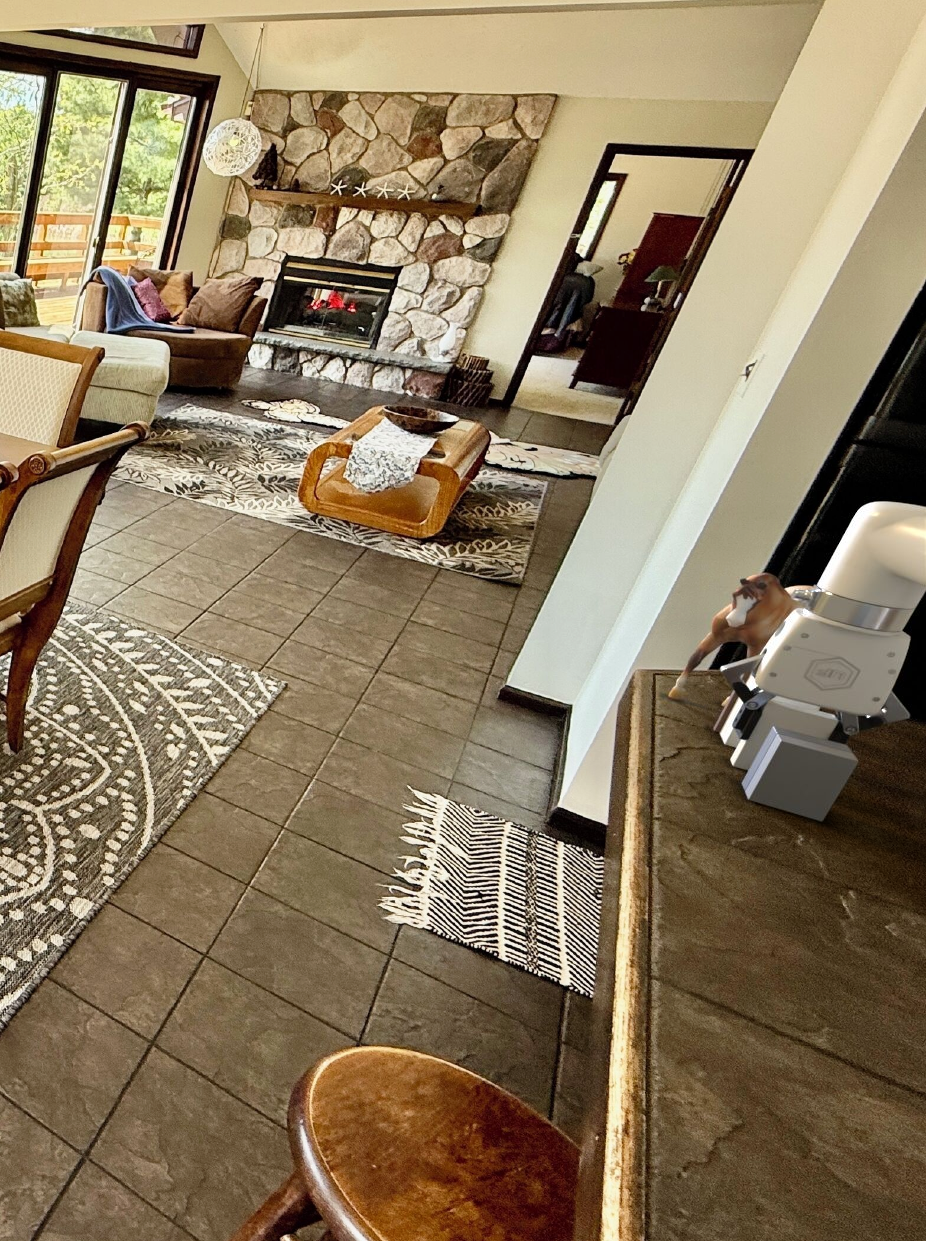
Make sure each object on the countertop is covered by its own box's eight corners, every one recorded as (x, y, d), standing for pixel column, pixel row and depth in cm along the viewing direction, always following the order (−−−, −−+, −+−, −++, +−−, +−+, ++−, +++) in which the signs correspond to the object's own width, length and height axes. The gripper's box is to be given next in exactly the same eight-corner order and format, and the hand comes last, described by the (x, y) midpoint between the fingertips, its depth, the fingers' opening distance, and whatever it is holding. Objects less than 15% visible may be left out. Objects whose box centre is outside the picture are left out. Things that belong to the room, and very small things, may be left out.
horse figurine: (690, 718, 120) (761, 579, 113) (631, 691, 127) (694, 558, 120) (863, 710, 126) (942, 577, 118) (797, 684, 133) (868, 557, 125)
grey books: (812, 804, 102) (847, 745, 99) (822, 821, 99) (859, 761, 96) (741, 783, 105) (772, 725, 102) (748, 800, 102) (781, 740, 99)
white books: (786, 748, 114) (824, 680, 110) (795, 764, 111) (835, 694, 107) (712, 728, 118) (747, 662, 114) (719, 743, 114) (755, 675, 111)
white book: (797, 778, 107) (834, 714, 104) (801, 785, 106) (839, 720, 102) (729, 759, 111) (763, 697, 107) (732, 766, 109) (767, 702, 106)
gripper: (756, 598, 102) (687, 731, 109) (985, 645, 92) (894, 788, 99) (745, 581, 108) (679, 709, 114) (959, 624, 98) (874, 761, 105)
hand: (780, 744), depth 107 cm, fingers closed on white book, 6 cm apart
